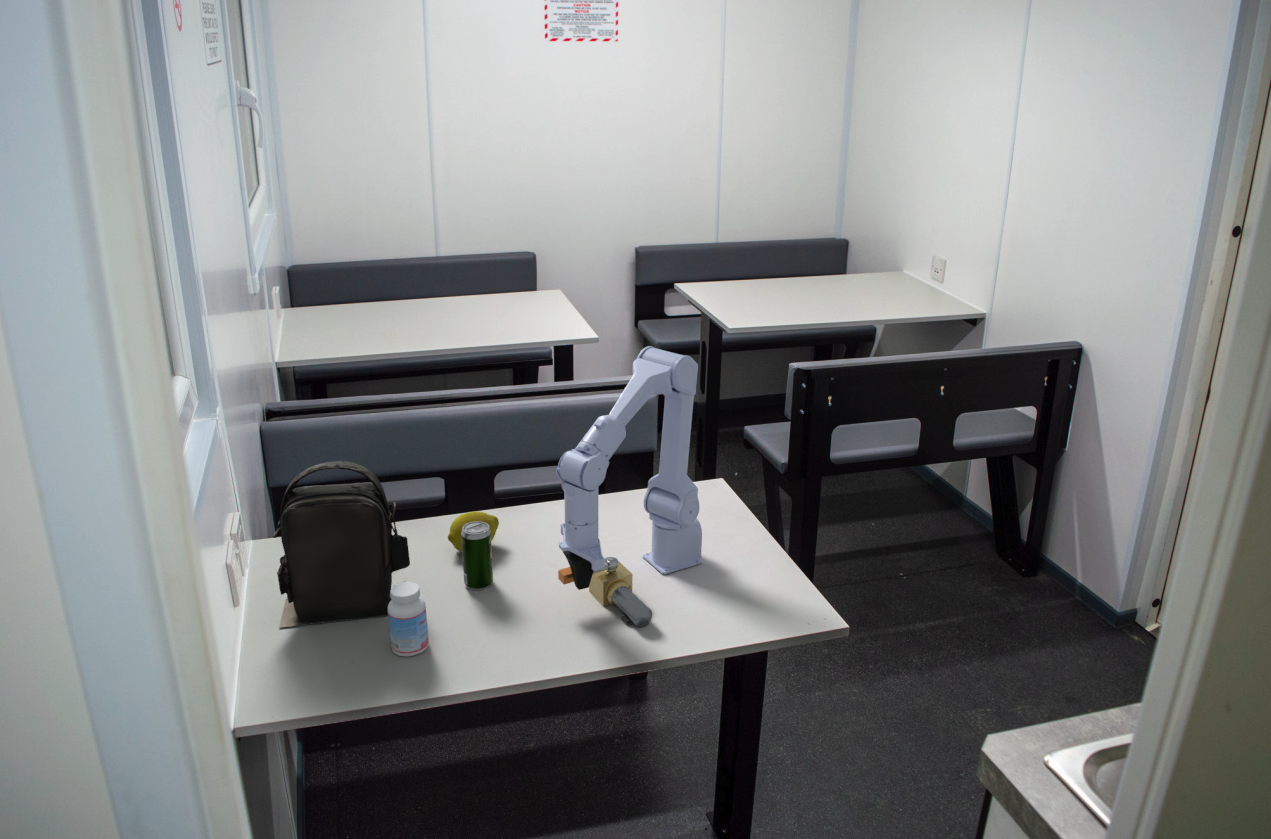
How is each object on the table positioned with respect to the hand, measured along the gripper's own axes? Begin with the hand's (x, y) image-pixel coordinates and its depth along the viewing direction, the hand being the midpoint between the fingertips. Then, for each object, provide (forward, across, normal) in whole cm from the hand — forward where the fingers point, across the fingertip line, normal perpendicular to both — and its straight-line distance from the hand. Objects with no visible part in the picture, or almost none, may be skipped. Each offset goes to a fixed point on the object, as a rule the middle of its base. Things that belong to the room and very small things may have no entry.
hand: (582, 586), depth 157 cm
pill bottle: (+6, -4, -30) cm, 31 cm away
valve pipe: (+6, -4, +7) cm, 10 cm away
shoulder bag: (+6, -20, -37) cm, 42 cm away
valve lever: (0, -3, +3) cm, 5 cm away
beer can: (+6, -18, -14) cm, 23 cm away
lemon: (+6, -31, -10) cm, 33 cm away
